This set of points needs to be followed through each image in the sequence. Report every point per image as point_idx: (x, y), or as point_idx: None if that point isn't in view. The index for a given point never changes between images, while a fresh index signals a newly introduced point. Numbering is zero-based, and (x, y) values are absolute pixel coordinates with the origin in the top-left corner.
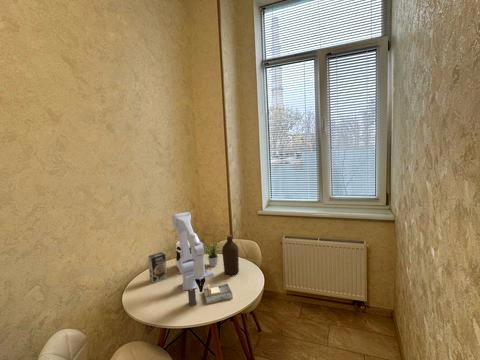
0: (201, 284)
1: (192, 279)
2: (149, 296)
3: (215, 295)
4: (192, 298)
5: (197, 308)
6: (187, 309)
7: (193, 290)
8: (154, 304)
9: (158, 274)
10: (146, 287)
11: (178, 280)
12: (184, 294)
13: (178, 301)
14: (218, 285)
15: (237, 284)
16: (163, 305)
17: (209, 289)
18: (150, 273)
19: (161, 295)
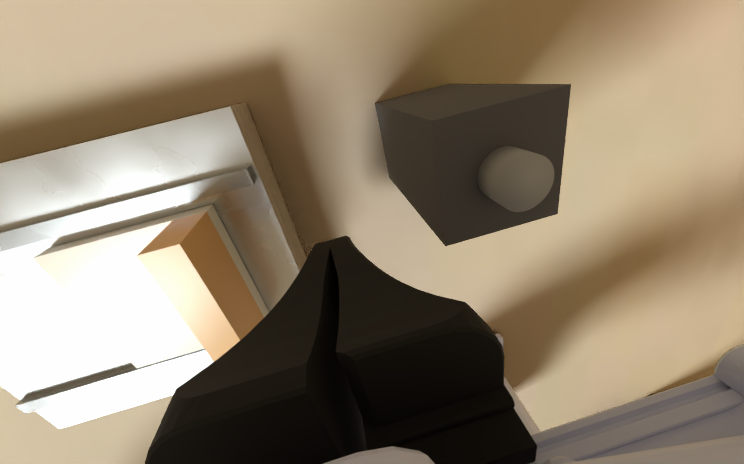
0: (315, 310)
1: (606, 424)
2: (718, 271)
3: (107, 194)
4: (444, 98)
5: (350, 7)
6: (471, 8)
7: (466, 185)
8: (728, 164)
9: None
10: (699, 358)
11: None
12: (490, 288)
13: None
14: (161, 392)
15: (2, 430)
16: (673, 138)
17: (171, 253)
18: None
19: (648, 280)
